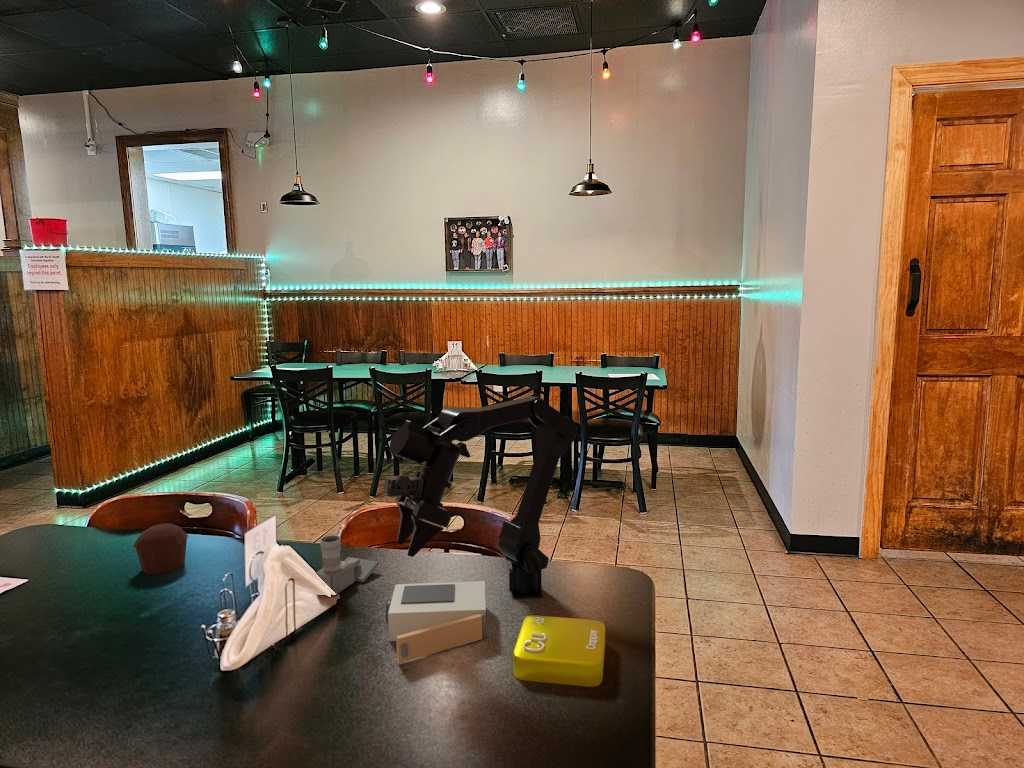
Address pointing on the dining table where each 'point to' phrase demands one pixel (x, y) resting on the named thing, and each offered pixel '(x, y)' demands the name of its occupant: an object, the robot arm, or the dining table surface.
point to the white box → (432, 605)
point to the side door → (440, 637)
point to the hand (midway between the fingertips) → (404, 549)
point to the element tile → (560, 651)
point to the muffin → (161, 548)
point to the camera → (341, 566)
